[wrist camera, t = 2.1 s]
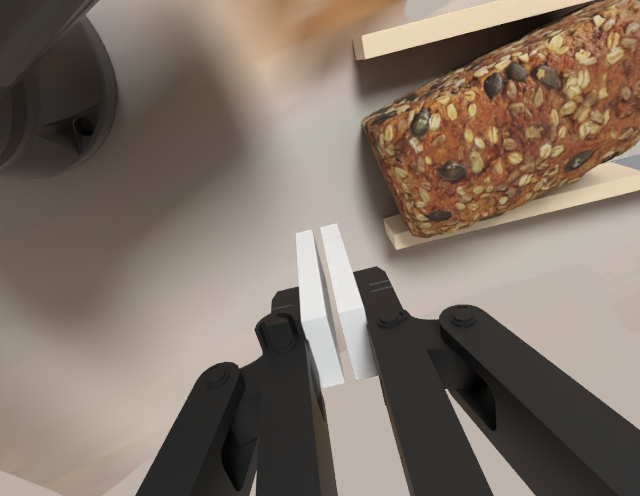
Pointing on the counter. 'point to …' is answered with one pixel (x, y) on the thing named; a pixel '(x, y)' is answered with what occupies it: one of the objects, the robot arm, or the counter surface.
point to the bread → (513, 121)
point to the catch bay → (510, 6)
